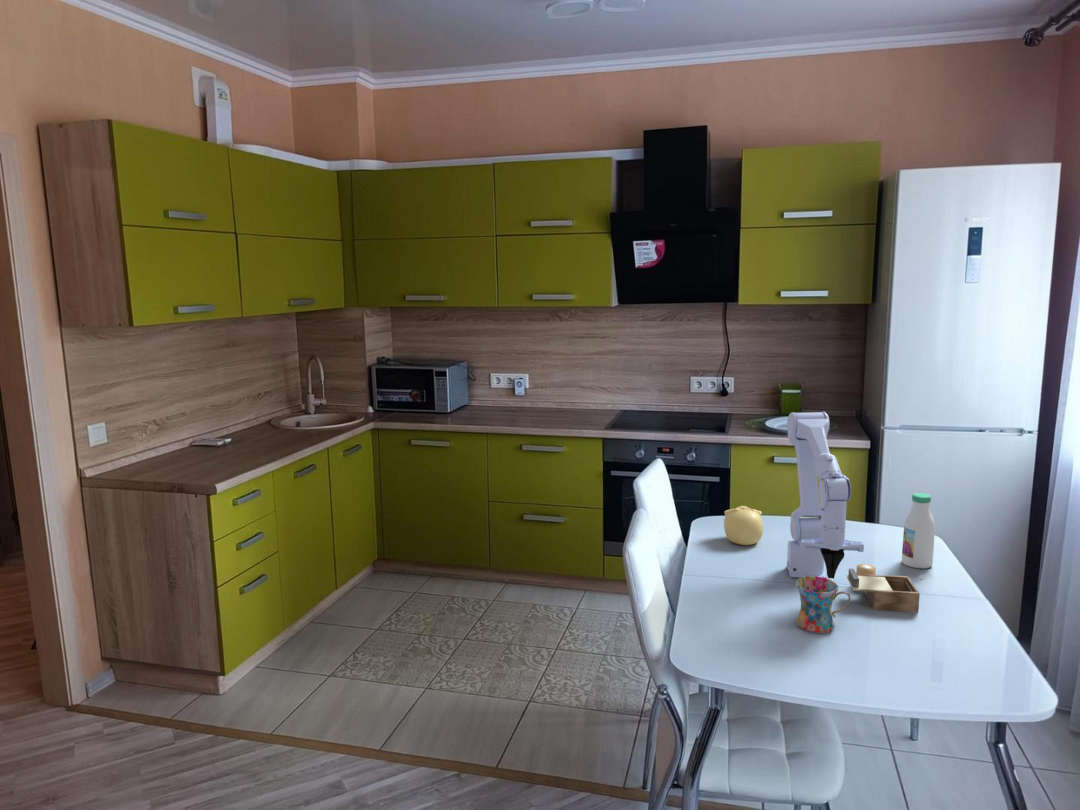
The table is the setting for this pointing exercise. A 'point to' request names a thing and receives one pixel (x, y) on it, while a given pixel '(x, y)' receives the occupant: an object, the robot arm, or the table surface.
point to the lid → (867, 582)
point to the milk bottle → (919, 533)
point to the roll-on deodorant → (865, 570)
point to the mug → (817, 603)
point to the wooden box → (895, 595)
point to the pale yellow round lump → (743, 525)
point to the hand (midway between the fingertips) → (830, 576)
